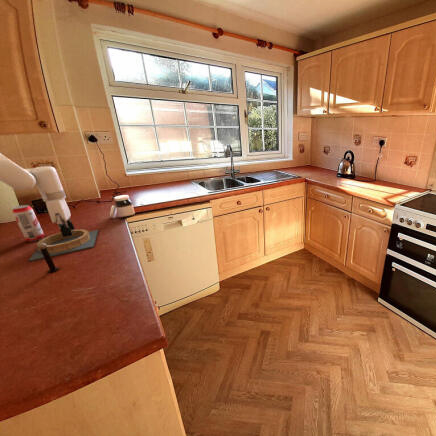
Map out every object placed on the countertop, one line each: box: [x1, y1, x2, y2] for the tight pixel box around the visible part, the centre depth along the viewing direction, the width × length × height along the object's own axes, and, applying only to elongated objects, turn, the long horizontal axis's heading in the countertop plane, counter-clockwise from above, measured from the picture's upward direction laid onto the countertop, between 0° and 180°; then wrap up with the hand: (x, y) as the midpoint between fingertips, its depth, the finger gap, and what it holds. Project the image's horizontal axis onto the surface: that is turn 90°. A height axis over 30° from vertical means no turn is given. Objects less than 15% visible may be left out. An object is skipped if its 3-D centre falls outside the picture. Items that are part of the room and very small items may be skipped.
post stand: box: [37, 243, 59, 274], centre depth 86 cm, size 3×3×11 cm
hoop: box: [36, 228, 90, 253], centre depth 106 cm, size 17×17×3 cm
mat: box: [28, 229, 99, 262], centre depth 107 cm, size 20×20×1 cm
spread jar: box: [109, 194, 136, 220], centre depth 135 cm, size 12×11×12 cm
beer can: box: [12, 204, 45, 243], centre depth 110 cm, size 6×6×16 cm
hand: (69, 233), depth 112 cm, fingers open, 5 cm apart
